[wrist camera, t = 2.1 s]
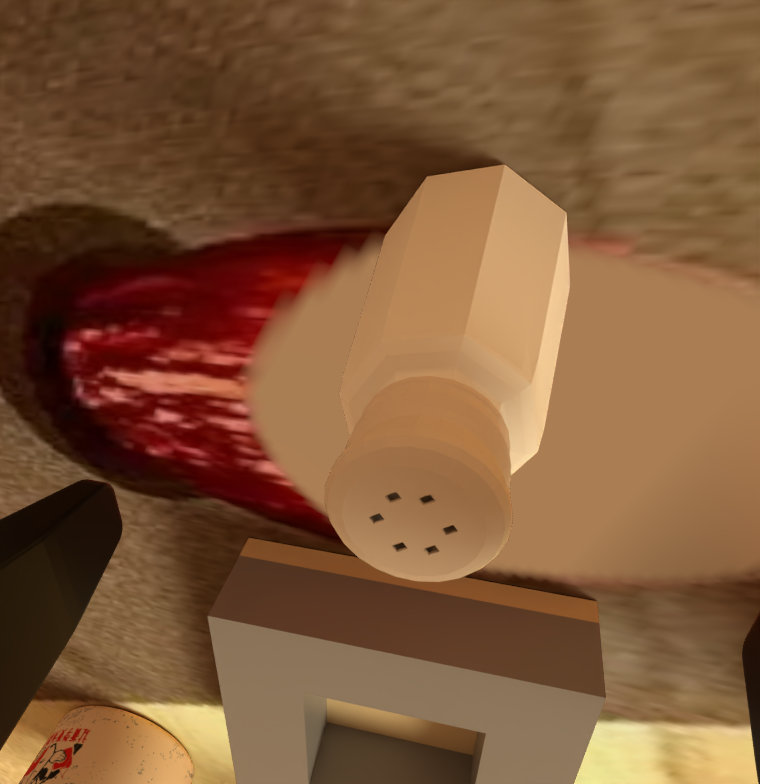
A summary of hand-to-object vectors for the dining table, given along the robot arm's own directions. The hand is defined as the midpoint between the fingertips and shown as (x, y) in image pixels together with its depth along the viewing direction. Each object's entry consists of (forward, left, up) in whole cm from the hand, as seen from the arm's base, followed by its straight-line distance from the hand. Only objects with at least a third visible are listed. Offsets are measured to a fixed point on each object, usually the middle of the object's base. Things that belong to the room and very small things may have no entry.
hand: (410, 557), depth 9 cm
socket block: (+1, +20, -12) cm, 23 cm away
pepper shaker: (0, 0, -12) cm, 12 cm away
